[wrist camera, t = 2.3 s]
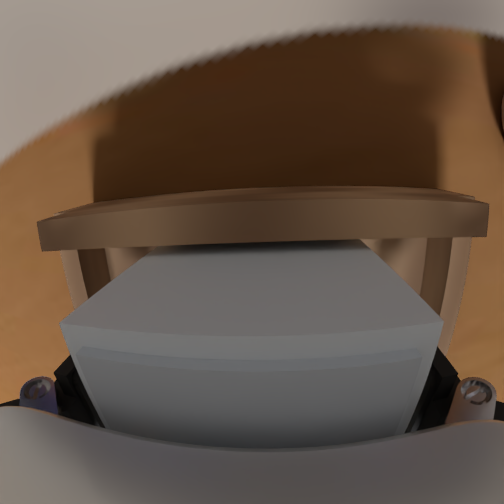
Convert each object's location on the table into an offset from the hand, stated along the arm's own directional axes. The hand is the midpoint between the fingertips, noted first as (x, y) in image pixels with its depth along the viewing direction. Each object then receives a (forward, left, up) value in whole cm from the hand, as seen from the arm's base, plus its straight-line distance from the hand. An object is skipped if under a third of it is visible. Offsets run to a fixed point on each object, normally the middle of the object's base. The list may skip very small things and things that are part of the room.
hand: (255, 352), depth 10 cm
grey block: (0, 0, -2) cm, 2 cm away
